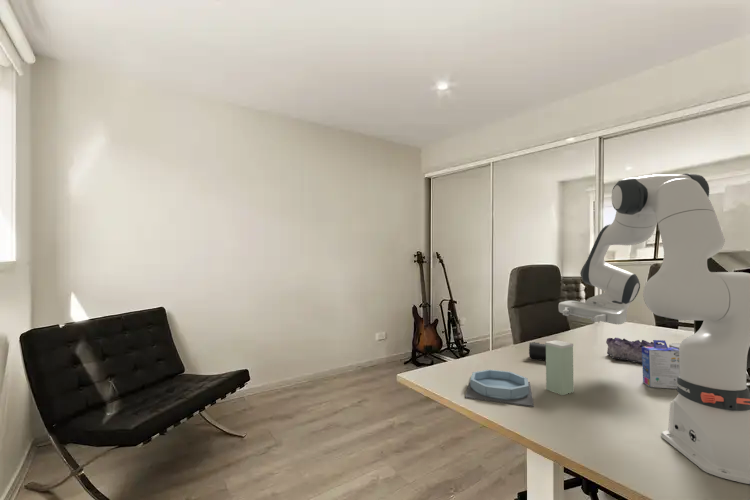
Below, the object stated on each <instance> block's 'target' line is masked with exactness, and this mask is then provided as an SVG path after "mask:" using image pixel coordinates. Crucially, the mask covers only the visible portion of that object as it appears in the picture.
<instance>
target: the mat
mask: <svg viewBox="0 0 750 500" xmlns="http://www.w3.org/2000/svg"><path fill="white" fill-rule="evenodd" d="M528 385H529V394H528V395H527V396H526V397H524V398H521V399H515V400H502V399H494V398H490V397H486V396H483V395H480V394H478V393H476V392H475V391H474V390H473V389H472V388H471V378H470V379H469V383H468V386H467V390H466V392H465V394H464V395H465V396H464V398H465V399H470V400H478V401H485V402H493V403H499V404H506V405H507V404H508V405H514V406H522V407H531V408H534V407H535V405H534V399H533V392H532V387H531V386H532V385H531V381H528Z"/></svg>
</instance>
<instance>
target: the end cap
mask: <svg viewBox="0 0 750 500" xmlns="http://www.w3.org/2000/svg"><path fill="white" fill-rule="evenodd" d="M528 347H529V348H528V351H529V352H528V354H529V358H530V359H531V360H535V361H545V362H546V345H545V343H540V342H536V341H534V342H529V346H528Z"/></svg>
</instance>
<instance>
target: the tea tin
mask: <svg viewBox="0 0 750 500" xmlns="http://www.w3.org/2000/svg"><path fill="white" fill-rule="evenodd" d="M544 344H545V345H546V361H545V381H546V382H545V387H546V391H550V392H553V393H554V394H557V393H558V395H560V396H564V395H565V396H566V395H568V393H569V394H572V393H574V343H571V342H568V341H563V340H558V339H554V340H550V341H545V343H544ZM571 392H572V393H571Z"/></svg>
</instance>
